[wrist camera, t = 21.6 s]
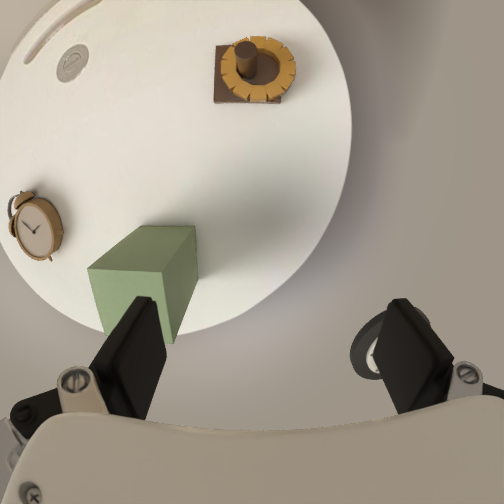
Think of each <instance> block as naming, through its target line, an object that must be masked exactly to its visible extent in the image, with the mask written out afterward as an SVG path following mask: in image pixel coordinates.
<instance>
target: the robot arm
mask: <svg viewBox="0 0 504 504" xmlns="http://www.w3.org/2000/svg"><path fill="white" fill-rule="evenodd" d="M166 354H167V353H166V348H165V343H164V338H163V334H162V329H161V324H160V318H159V313H158V307H157V303H156V301H153V300H152V298H151V297H148V296H137V297H136V298H135V299H134V300H133V302H132V303H131V305H130V306H129V308H128V309H127V310H126V312H125V313H124V315H123V316H122V318H121V319H120V321H119V322H118V324H117V325H116V327H115V328H114V329H113V330H112V332H111V333H110V335H109V336H108V338H107V340H106V341H105V343H104V344H103V345H102V347H101V349H100V350H99V352H98V353H97V355H96V357H95V358H94V360H93V361H92V363H91V364H90V366H89V368H87V367H84V366H74V367H70V368H68V369H66V370H65V371H63V372H62V373H61V374H60V376H59V378H58V380H57V388H55V389H53V390H50V391H47V392H44V393H42V394H39V395H36V396H33V397H30V398H27V399H24V400H21V401H19V402H17V403H16V404H15V405H14V407H13V408H12V410H11V413H10V419H9V420H8V419H7V418H6V417H5V418H4V419H2V420H1V421H0V504H504V390H501V389H498V388H496V387H493V386H490V385H488V384H485V383H483V376H482V373H481V371H480V370H479V368H478V367H477V366H475V365H474V364H472V363H470V362H466V361H462V362H458V363H456V364H455V365H453V364H452V362H453V360H454V357H453V355H452V354H451V353H450V351H449V350H448V349H447V348H446V346H445V345H444V344H443V342H442V341H441V340H440V338H439V337H438V336H437V334H436V333H435V332H434V331H433V330H432V328H431V327H430V326H429V325H428V323H427V322H426V321H425V320H424V318H423V317H422V316H421V315H420V314H419V312H418V311H417V310H416V309H415V308H414V306H413V305H412V304H411V303H410V302H409V301H408V300H407V299H406V298H400V299H393V300H392V302H390V303H389V304H388V307H387V310H386V314H385V317H384V320H383V324H382V327H381V330H380V333H379V336H378V337H377V338H376V339H375V341H374V342H373V343H372V344H371V346H370V348H369V350H368V352H367V356H366V362H367V364H368V367H369V368H370V369H371V370H372V371H373V372H375V373H380V375H381V377H382V379H383V381H384V383H385V386H386V388H387V390H388V392H389V394H390V397H391V399H392V401H393V403H394V405H395V408H396V410H397V413H398V415H394V416H390V417H386V418H380V419H375V420H371V421H365V422H359V423H352V424H345V425H338V426H330V427H321V428H310V429H295V430H268V431H250V430H221V429H208V428H197V427H188V426H180V425H172V424H164V423H158V422H151V421H146V420H145V419H146V416H147V413H148V410H149V407H150V404H151V401H152V398H153V395H154V392H155V389H156V387H157V384H158V381H159V378H160V375H161V373H162V370H163V367H164V364H165V361H166V357H167V355H166Z"/></svg>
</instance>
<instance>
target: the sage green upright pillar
mask: <svg viewBox="0 0 504 504" xmlns="http://www.w3.org/2000/svg"><path fill="white" fill-rule="evenodd" d="M87 270H88V275H89V279H90V283H91V287H92V291H93V295H94V299H95V302H96V306H97V310H98V313H99V316H100V320H101V323H102V326H103V329H104V332H105V335H106V336H109V335H110V333H111V332H112V330H113V329H114V328H115V327H116V325H117V324H118V322H119V321H120V319H121V318H122V316H123V315H124V313H125V312H126V310H127V309H128V308H129V306H130V305H131V303H132V302H133V300H134V299H135V298H136V297H137V296H148V297H151V298H152V300H153V301H156V303H157V307H158V313H159V318H160V324H161V329H162V334H163V338H164V343H167V344H174V341H175V338H176V336H177V333H178V330H179V328H180V325H181V322H182V320H183V317H184V315H185V312H186V309H187V307H188V304H189V302H190V299H191V297H192V294H193V291H194V289H195V286H196V284H197V281H198V272H197V257H196V240H195V226H140V227H138V228H137V229H136V230H134V231H133V232H132V233H130V234H129V235H128V236H127V237H125V238H124V239H123V240H121V241H120V242H119V243H118V244H116V245H115V246H114V247H113V248H111V249H110V250H109V251H108V252H106V253H105V254H104V255H103V256H102V257H100V258H99V259H98V260H97V261H95V262H94V263H93V264H92V265H91V266H90V267H88V268H87Z"/></svg>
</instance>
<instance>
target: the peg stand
mask: <svg viewBox="0 0 504 504" xmlns="http://www.w3.org/2000/svg"><path fill="white" fill-rule="evenodd" d="M230 46H232V47H234V46H233V45H222V46H216V53H215V76H214V103H269V104H280V102H281V96H279V97H277V98H275V99H273V100H271V101H269V100H268V98H267V100H266V102H250V97H249V99H248V100H247V101H246V100H244V99H242V98H240V97H238V96H236V95H234V94H233V91H232V92H231V91H230V90H229V88H228V87H227V85H226V84H225V82H224V81H223V78H222V75H221V60H223V58H222V57H223V56H224V54H225V53H226V51H227V50H228V49H229V47H230ZM234 52H235V57H236V62H237V73H238V74H239V76H240V77H241V79H242V80H243V81H245V82H247V83H249V84H251V85H266V84H268V83H270V82H272V81H274V80H275V79H276V77H277V76H278V74H279V66H278V64H277V63H276V61H275V60H274V58H273V57H271V56H269V55H267V54H265V53H257V47H256V45H255V44H254V43H252V42H250V41H242V42H240V43H238V44H237V45H236V46H235V49H234Z"/></svg>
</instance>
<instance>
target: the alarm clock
mask: <svg viewBox="0 0 504 504" xmlns="http://www.w3.org/2000/svg"><path fill="white" fill-rule="evenodd" d="M17 196H18V197H17ZM15 197H17V198H16V200H15V203H14V206H15V209H18V210H17V212H16V214H15V215H14V216H12V213H11V205H12V201H13V199H14V198H15ZM33 198H34V194H33V193H32V192H30V191H26V192H22V191H20V194H18V195H15V196H13V197H12V198H11V199H10V200H9V203H8V216H9V219H10V222H9V232H10V234H11V235H12V236H13V237H16V238H17V241H18V243H19V245H20V247H21V248H22V250H23V251H24V252H25V253H26V254H27V255H28V256H29V257H31V258H32V259H35V260H38V261H40V260H45V259H46V258H49V260H50V261H51V262H52V261H53V260H52V258H51V256H50V255H51V254H52V253H53V252H55V251H56V250H57V249H58V248H59V246H60V244H61V241H62V234H63V231H62V225H61V221H60V218H59V216H58V214H57V212H56V210H55V208H54V207H53V206H52V205H51V204H50V203H49V202H47V201H46V200H44V199H39V198H37V199H34V200H32V199H33Z"/></svg>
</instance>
